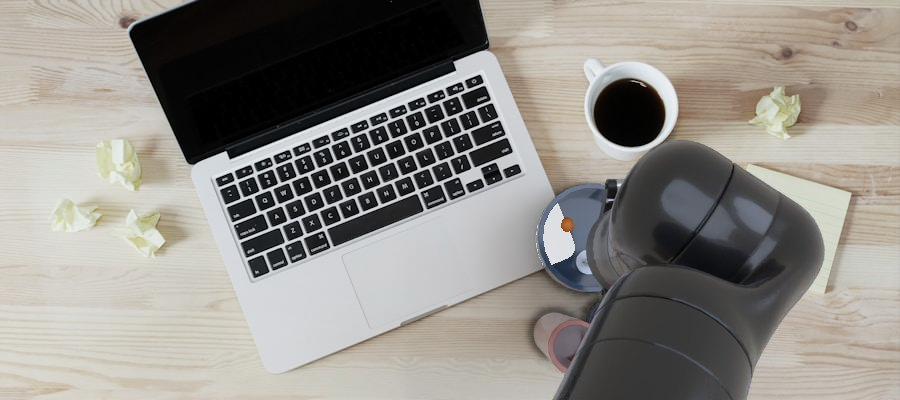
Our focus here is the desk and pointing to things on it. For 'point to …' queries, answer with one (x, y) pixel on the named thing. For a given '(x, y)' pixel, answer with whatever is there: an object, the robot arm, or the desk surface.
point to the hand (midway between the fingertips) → (606, 257)
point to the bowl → (573, 234)
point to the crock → (559, 338)
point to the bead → (567, 224)
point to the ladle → (582, 263)
